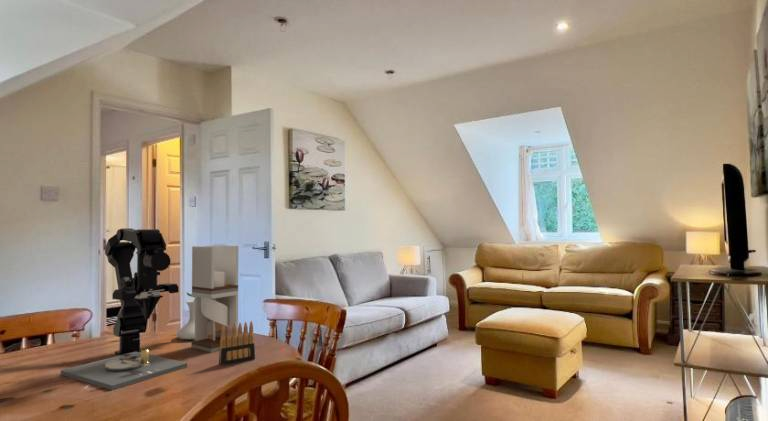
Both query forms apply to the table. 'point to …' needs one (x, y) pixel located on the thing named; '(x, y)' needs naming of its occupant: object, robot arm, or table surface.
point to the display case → (214, 293)
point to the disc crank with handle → (128, 361)
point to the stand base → (122, 372)
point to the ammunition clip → (236, 345)
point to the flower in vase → (189, 328)
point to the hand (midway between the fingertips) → (146, 318)
